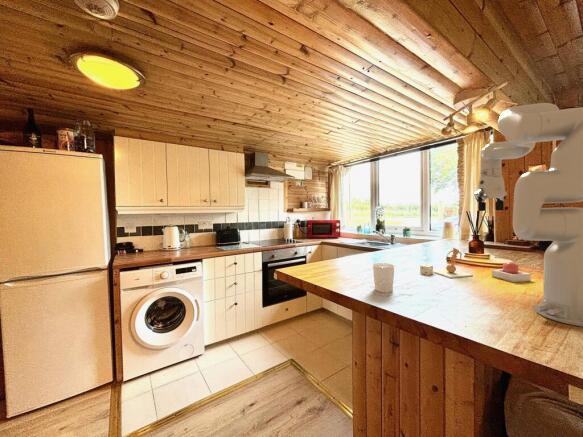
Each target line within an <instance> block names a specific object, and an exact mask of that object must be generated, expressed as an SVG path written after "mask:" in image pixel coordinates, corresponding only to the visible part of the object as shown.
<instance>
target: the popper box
mask: <svg viewBox="0 0 583 437" xmlns="http://www.w3.org/2000/svg"><path fill="white" fill-rule="evenodd" d="M531 276H532V275H531V273H530V272H529V273H528V272H525V271H520V270H518V274H510V273H505V272H503V268H499V269H491V278H496V279H500V280H503V281H506V282H511V283H520V282H528V281H531V279H532V278H531Z"/></svg>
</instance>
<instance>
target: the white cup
mask: <svg viewBox="0 0 583 437" xmlns="http://www.w3.org/2000/svg"><path fill="white" fill-rule="evenodd" d="M372 269H373V270H372V271H373V272H372V273H373V282H374V289H375V291H377V292H379V293H387V294H388V293H392V292H393V290H394V281H395V280H394V276H395V274H394V272H395V265H393V264H391V263H383V262H380V263H379V262H377V263H373V264H372Z"/></svg>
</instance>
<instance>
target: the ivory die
mask: <svg viewBox="0 0 583 437" xmlns="http://www.w3.org/2000/svg"><path fill="white" fill-rule="evenodd" d="M433 270H434V266H433V265H430V264H420V265H419V273H420V274H422V275H426V276H429V275H432V274H434V273H433Z"/></svg>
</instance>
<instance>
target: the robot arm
mask: <svg viewBox="0 0 583 437" xmlns="http://www.w3.org/2000/svg"><path fill="white" fill-rule="evenodd" d="M497 129H498V132H499V134H501V135H503V136H504V139H505V141H499V142H498V141H497V142H489V143H487V144H486V145H485V147H483V148H482V149H480V158H479V160H480V172H479V176H480V177H479V180H478V187H477V188H478V189H477V191H475V192H474V193H473V195H474V199H475V200H476V202H477V203H478V206H477V208H478V209H477V210H478V212H486V211H487V202H486V200H487V199H495V206H494V207H495V211H504V205H505V204H504V202H505V200H506V198H507V196H508V192H507V191H506V188H505V179H504V176H503V175H502V173H503V172H502V164H503V163H502V160H515V159H516V160H517V159H519V158H520V159H521V158H522V157H525V156H526V155H528V154H529V153H530V152H532V151H533V150H534V148H535V145H536V143H544V142H551V141H552V142H554V141H560V143H558V145H557V146H556V147H555V148H554V149H553V151H552V152H551V156H550V167H549V168H548V169H544V170H532V171H528V172H524V173H523V174H522V175H520V177H518V179H517V181H516V182H515V185H514V191H513V207H512V208H513V209H512V230H513V232H514V234H515V236H516V237H517V238H519V239H520V240H524V241H537V242H540V241H541V242H545V241H546V242H548V241H549V242H551V244H550V245H549V246H548V247H547V248H546V249H545V252H544V254H543V299H542V300H541V301H542V303H541V304H536V305H535V304H534V305H533V306H532V310H533V311H534V312H535V313H537V314H539V315H540V316H543V317H544V318H546V319H549V320H552V321H555V322H557V323H558V322H559V323H562V324H566V325H571V326H577V327H582V328H583V207H575V206H574V207H573V206H570V207H569V206H567V207H543V205H544V204H566V203H580V202H583V106H582V107H574V108H564V109H560V108H559V107H558V106H557V104H555V103H549V102H540V103H539V102H538V103H532V104H526V105H525V104H524V105H517V106H511V107H509V108H507V109H506V110H504V111H503V112H502V113H501V115H500V116H499V118H498V121H497Z"/></svg>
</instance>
